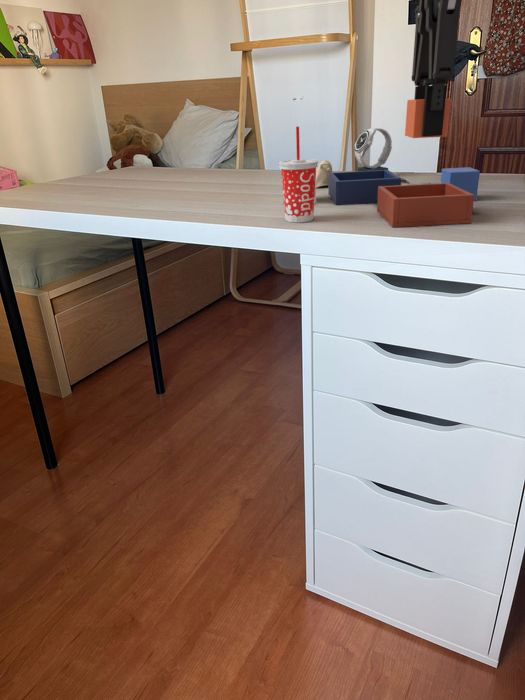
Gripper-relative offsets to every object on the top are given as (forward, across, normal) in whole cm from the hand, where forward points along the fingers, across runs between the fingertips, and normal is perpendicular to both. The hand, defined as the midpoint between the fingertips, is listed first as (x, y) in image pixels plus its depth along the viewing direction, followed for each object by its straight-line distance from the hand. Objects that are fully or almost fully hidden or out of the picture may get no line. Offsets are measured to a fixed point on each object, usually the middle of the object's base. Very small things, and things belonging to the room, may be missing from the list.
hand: (426, 133), depth 79 cm
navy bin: (+12, -18, -6) cm, 23 cm away
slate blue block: (+12, -12, +10) cm, 20 cm away
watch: (+12, -35, -1) cm, 37 cm away
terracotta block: (0, 0, 0) cm, 0 cm away
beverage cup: (+12, -2, -19) cm, 23 cm away
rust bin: (+12, +1, 0) cm, 12 cm away
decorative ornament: (+12, -34, -12) cm, 38 cm away
